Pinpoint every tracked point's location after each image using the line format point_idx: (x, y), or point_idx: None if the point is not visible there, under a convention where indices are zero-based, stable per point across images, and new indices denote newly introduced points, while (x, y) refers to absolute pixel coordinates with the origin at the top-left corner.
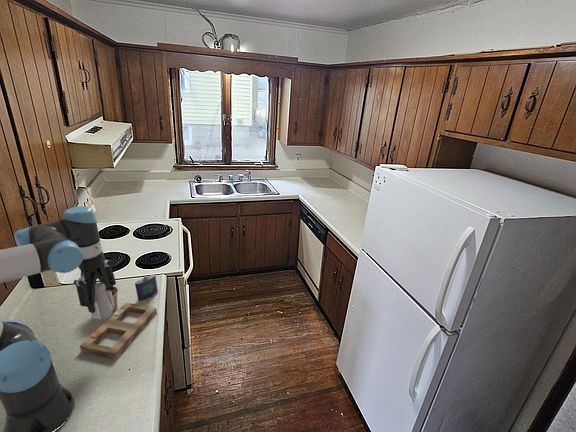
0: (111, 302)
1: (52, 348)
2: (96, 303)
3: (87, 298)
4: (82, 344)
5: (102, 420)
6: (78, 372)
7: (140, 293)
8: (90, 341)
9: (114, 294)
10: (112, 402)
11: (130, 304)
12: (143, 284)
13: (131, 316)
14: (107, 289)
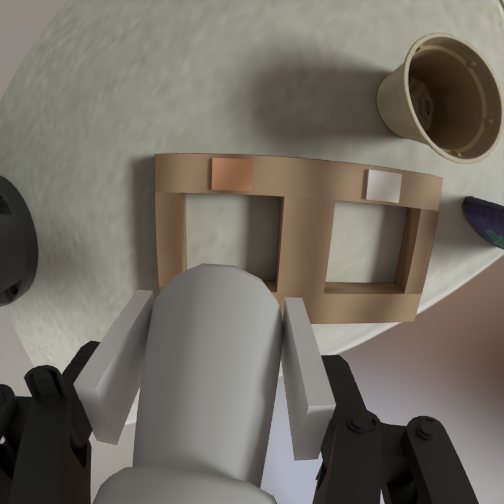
0: (283, 368)
1: (158, 39)
2: (112, 437)
3: (6, 499)
4: (165, 159)
5: (40, 362)
6: (90, 220)
7: (486, 222)
8: (187, 180)
9: (469, 118)
10: None
11: (433, 205)
12: None
13: (382, 226)
14: (326, 440)
